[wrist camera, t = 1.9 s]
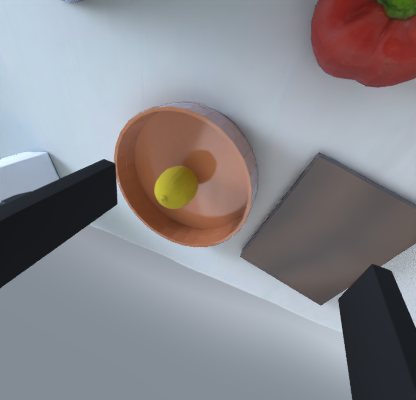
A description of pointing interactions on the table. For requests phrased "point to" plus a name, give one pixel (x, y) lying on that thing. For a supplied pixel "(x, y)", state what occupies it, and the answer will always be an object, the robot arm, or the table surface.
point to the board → (331, 231)
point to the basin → (194, 160)
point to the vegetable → (366, 40)
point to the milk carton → (25, 173)
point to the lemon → (176, 187)
